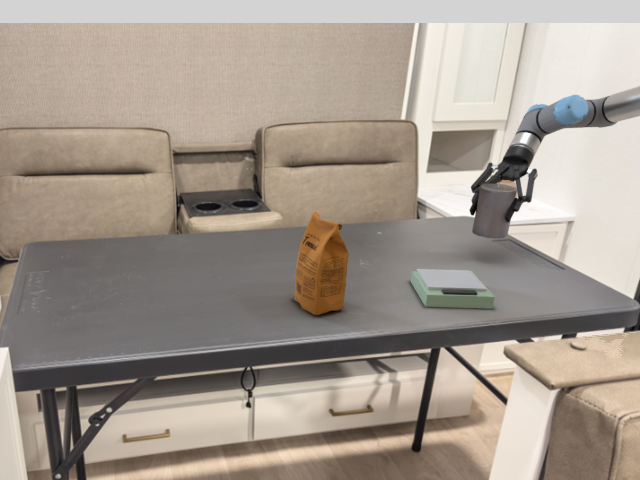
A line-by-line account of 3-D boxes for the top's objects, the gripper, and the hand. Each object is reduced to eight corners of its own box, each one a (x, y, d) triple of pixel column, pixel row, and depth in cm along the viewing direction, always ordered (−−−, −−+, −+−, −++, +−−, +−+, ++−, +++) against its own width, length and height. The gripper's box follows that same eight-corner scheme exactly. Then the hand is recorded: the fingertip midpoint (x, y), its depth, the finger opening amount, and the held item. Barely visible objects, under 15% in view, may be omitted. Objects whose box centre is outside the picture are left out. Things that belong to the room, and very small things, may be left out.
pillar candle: (465, 229, 173) (474, 179, 167) (496, 228, 174) (506, 178, 168) (482, 239, 164) (492, 186, 158) (514, 238, 165) (525, 186, 159)
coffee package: (323, 292, 147) (330, 208, 138) (348, 312, 137) (357, 222, 128) (288, 298, 144) (292, 211, 135) (311, 318, 133) (317, 226, 125)
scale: (492, 308, 140) (495, 293, 138) (425, 306, 140) (427, 291, 139) (471, 283, 154) (474, 269, 153) (410, 281, 155) (412, 267, 153)
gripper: (562, 166, 165) (530, 231, 160) (485, 156, 178) (454, 216, 174) (560, 149, 159) (527, 216, 155) (481, 140, 173) (449, 201, 169)
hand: (488, 216), depth 164 cm, fingers closed on pillar candle, 9 cm apart
